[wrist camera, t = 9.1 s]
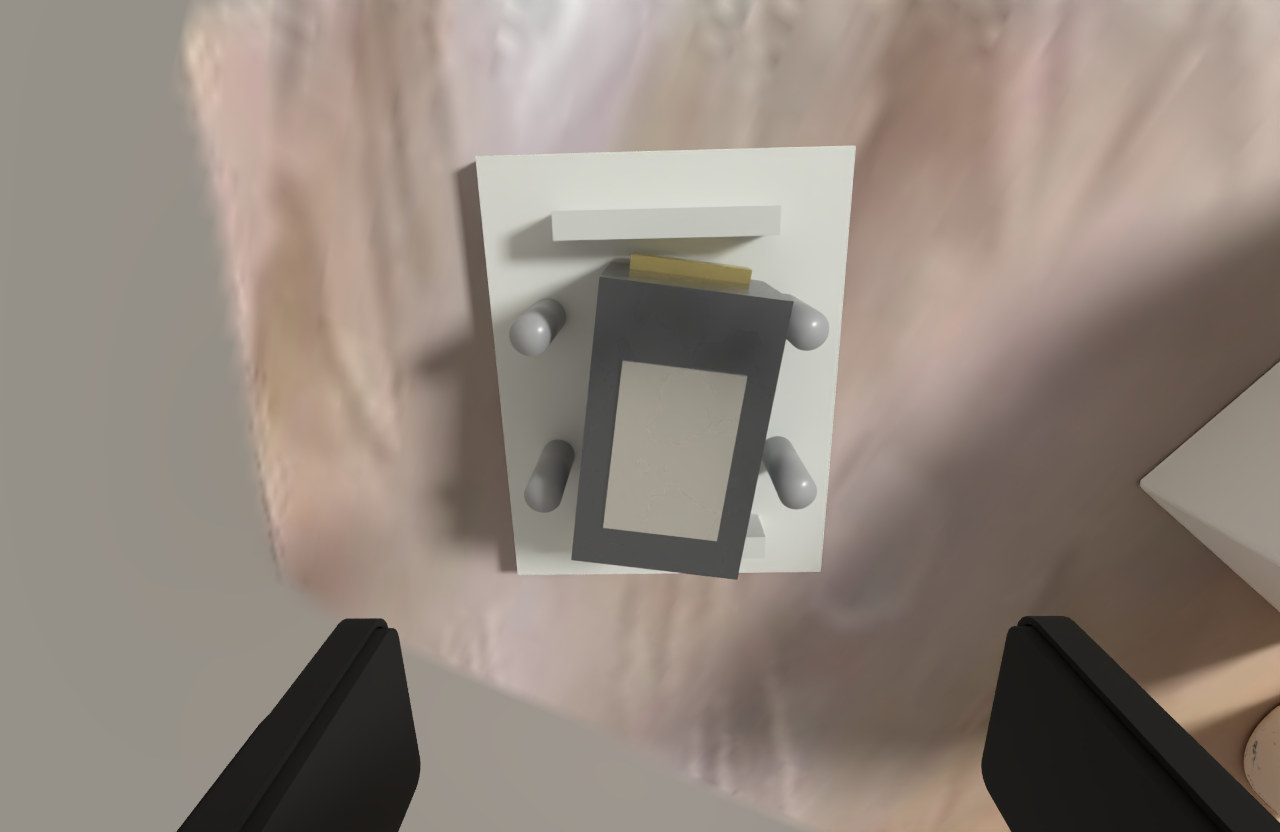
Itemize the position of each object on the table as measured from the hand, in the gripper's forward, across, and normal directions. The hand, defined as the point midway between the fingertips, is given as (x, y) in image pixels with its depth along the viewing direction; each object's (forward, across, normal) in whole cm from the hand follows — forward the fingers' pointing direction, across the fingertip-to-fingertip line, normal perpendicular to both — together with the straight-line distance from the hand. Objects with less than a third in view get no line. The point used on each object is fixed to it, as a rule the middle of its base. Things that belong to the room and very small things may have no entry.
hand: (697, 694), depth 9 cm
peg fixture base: (+18, 0, 0) cm, 18 cm away
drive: (+17, 0, 0) cm, 17 cm away
